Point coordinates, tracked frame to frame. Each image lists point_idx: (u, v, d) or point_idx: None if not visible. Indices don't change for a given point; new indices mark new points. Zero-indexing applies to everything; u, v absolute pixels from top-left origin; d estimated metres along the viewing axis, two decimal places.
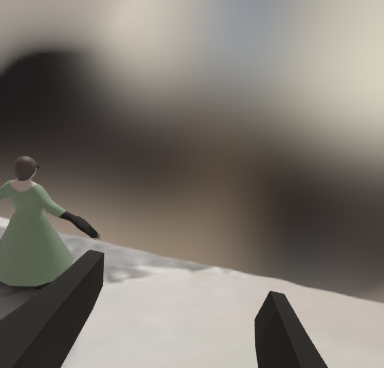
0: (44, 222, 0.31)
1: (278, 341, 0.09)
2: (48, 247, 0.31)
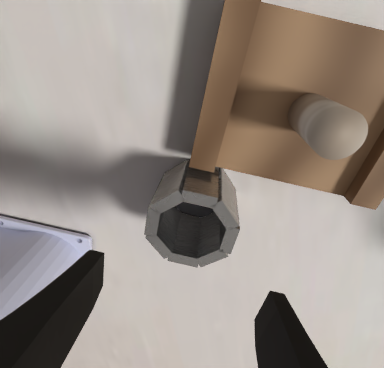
0: None
1: (278, 341, 0.09)
2: None
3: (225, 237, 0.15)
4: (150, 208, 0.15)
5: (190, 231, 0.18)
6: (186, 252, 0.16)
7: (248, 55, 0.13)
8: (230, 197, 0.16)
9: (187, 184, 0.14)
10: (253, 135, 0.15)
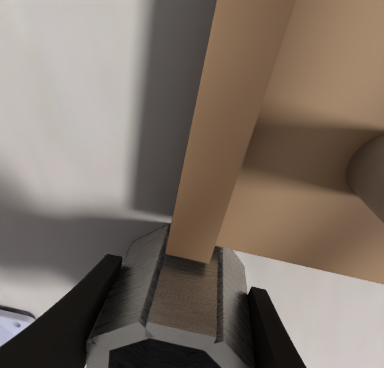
0: None
1: (257, 336, 0.09)
2: None
3: None
4: (91, 341, 0.08)
5: None
6: None
7: (277, 58, 0.07)
8: (238, 304, 0.09)
9: (158, 300, 0.08)
10: (279, 201, 0.08)
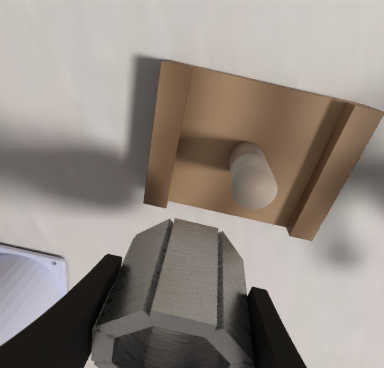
0: None
1: (257, 337, 0.09)
2: None
3: None
4: (96, 329, 0.08)
5: None
6: None
7: (188, 110, 0.15)
8: (237, 294, 0.09)
9: (161, 290, 0.08)
10: (200, 175, 0.17)
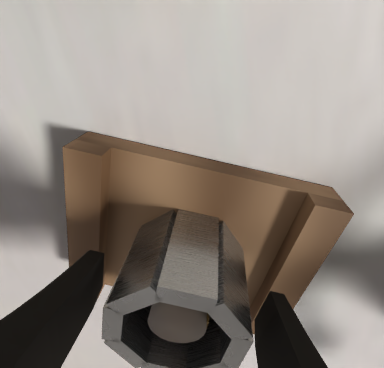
0: None
1: (278, 341, 0.09)
2: None
3: (229, 349, 0.09)
4: (107, 307, 0.09)
5: None
6: (170, 358, 0.11)
7: (113, 193, 0.12)
8: (237, 277, 0.10)
9: (167, 270, 0.09)
10: None
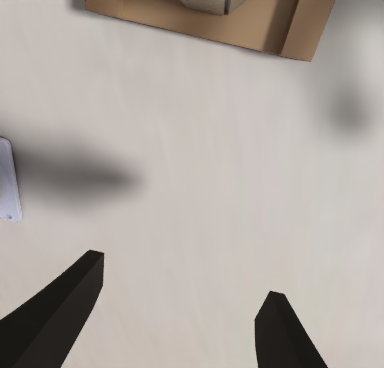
0: None
1: (278, 341, 0.09)
2: None
3: None
4: None
5: None
6: None
7: None
8: None
9: None
10: None
